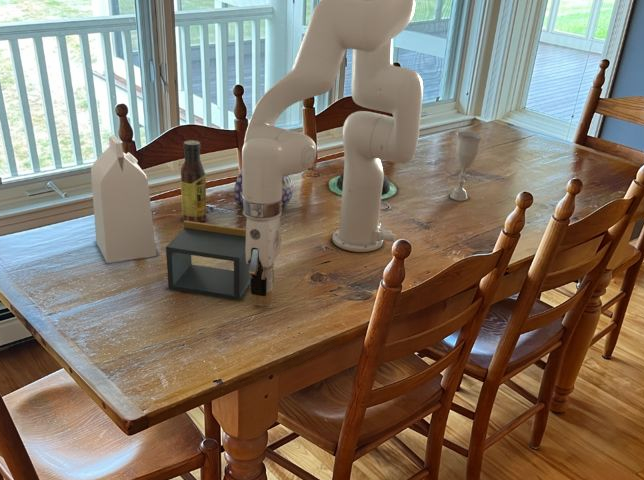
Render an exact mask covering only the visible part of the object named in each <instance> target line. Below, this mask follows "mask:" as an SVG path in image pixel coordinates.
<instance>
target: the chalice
mask: <svg viewBox="0 0 644 480" xmlns="http://www.w3.org/2000/svg"><path fill="white" fill-rule="evenodd" d="M456 137H457V138H456V139H457V141H456V145H455V146H456V147H455V157H456V161H457V164H458V167H460V169H461V172H460V173H459V177H460V178H459V179H458V184H459V185H458V187H456V188H454V189H453V191H452V192H451V193H450V195H449V197H450V199H452V200H455V201H460V202H462V201H467V200H468V194H467V191H466V189H465V188H464V187H463V186H464V183H465V182H466V181H465V177H466V169H469V168H470V167H471V166H472V165H473V163H474V162H475V160H476V158H477V157H478V155H479V149H480V146H481V145H480V143H481V141H482V139H483V138H484V136H483V134H481V133H479V132H474V131H465V130H463V131H458V132H456Z"/></svg>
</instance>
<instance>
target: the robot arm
mask: <svg viewBox="0 0 644 480" xmlns="http://www.w3.org/2000/svg"><path fill="white" fill-rule="evenodd" d="M415 7H416V0H319V1H318V3H316V5H315V6H314V8H313V11H312V13H311V16H310V19H309V22H308V23H307V26H306V30H305V32H304V35H303V38H302V40H301V43H300V46H299V49H298V52H297V54H296V56H295V59H294V62H293V65H292V67H291V69H290V70H289V72H288V73H287V74H286V75H284V76H283V77H281V78H280V79H279V80H277V81H276V82H275V83H274V84H272V86H270V87H269V88H268V90H267V91H266V92H265V93H264V94H263V95H262V96H261V97H260V99H259V100H258V101H257V103H256V104H255V106H254V109H253V111H252V114H251V117H250V119H249V122H248V125H247V128H246V131H245V134H244V141H243V145H242V148H241V169H242V190H243V206H242V215H243V216H244V217H245V218H246V223H245V229H246V263H247V264H248V265H250V270H249V274H250V278H251V283H250V294H251V296H252V295H259V296H266V294H267V278H265V269H266V268H269V267H270V266H271V265H272V264H273V265H274V262H275V261H276V259H277V257H278V256H279V254H280V253H281V252H280V251H281V249H282V235H281V233H282V232H281V231H282V230H281V228H282V227H281V216H282V214H283V208H282V178H283V177H284V176H288V175H292V176H294V175H298V174H301V173H303V172H306V171H307V170H308V169H310V168H311V167H312V165H313V164H314V162H315V160H316V158H317V145H316V143H315V141H314V140H313V138H311V137H310V136H309V135H307V134H305V133H302V132H298V131H294V130H291V129H287V128H282V127H278V126H276V122H277V121H278V119H279V118H280V116H281V115H282V114H283V113H284V111H286V110H287V109H288V108H290V107H291V106H293V105H295V104H297V103H299V102H302V101H304V100H308V99H310V98H315V97H318V96H321V95H324V94H326V93H328V92H330V91H331V90H332V89H333V86H334V85H335V82H336V79H337V76H338V73H339V70H340V68H341V65H342V62H343V60H344V58H345V54H346V52H347V50H352V56H351V57H352V59H351V82H350V83H351V86H350V91H351V98H352V100H353V102H354V103H355V104H356V105H358V106H359V107H362V108H364V109H365V108H366V109H369V110H374V111H377V112H378V111H379V112H384V113H388V114H390V115H391V114H392V116H390V115H386V114H381V113H379V112H378V113H377V112H372V111H368V110H367V111H366V110H357V111H355V112H352V113H350V114H349V115H348V116H347V118H346V119H345V120H344V122H343V126H342V145H343V157H344V158H343V159H344V161H343V163H344V164H343V173H344V177H343V190H342V195H341V203H340V204H341V205H340V217H339V228H338V229H337V230H336V231H334V233H332V238H331V239H332V242H333V244H334V245H335V246H336V247H338V248H340V249H342V250H345V251H349V252H356V253H368V252H373V251H376V250H378V249H379V248H381V247H382V246H383V245H384V241H386V242H390V243H395V240H396V234H395V233H392V232H393V231H392V230H389V229H383V228H381V225H382V224H381V222H379V221H380V214H381V203H382V199H381V196H382V187H383V180H384V174H385V172H384V169H383V168H384V167H383V164H382V163H381V162H380V159H381V160H382V161H386V162H390V163H394V164H400V165H401V164H403V165H404V164H407V163H409V162H410V161H412V159H413V157H414V156H415V154H416V151H417V149H418V144H419V137H420V130H421V129H420V128H421V119H422V118H421V117H422V109H423V108H422V107H423V99H424V84H423V79H422V78H421V75H420V74H419V73H418V72H417V71H415V70H413V69H411V68H407V67H403V66H396V65H394V63H393V39H395V37H398V35H399V34H401V33H402V32H404V30H405V29H406V28H407V27H408V26H409V25H410V23H411V21H412V19H413V16H414V13H415ZM383 172H384V173H383ZM258 261H260V262H261V263H258ZM257 267H260V268H262V270H261V272H260V271H259V270H258V269H257Z"/></svg>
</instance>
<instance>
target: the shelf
mask: <svg viewBox="0 0 644 480" xmlns="http://www.w3.org/2000/svg"><path fill="white" fill-rule="evenodd" d="M165 255H166V271H167V285H168V290H171V291H177V292H184V293H190V294H195V295H196V294H197V295H203V296H209V297H216V298H221V299H222V298H223V299H228V300H235V301H240V300H241V299H242V297H243V295H245V292H246V291H247V290H248V288H249V286H251V278H250V274H249V270H250V265H248V264H247V263H246V228H240V227H234V226H228V225H220V224H212V223H205V222H192V221H185V220H183V228H182V229H181V230H180V231H179V232H178V233H177V234H176V235H175V236H174V237H173V238H172V240H171V241H170V242H169V243H168V244H167V245H166V246H165ZM192 256H195V257H203V258H209V259H214V260H215V259H216V260H223V261H228V262H233V270H232V269H225V268H218V267H211V266H205V265H197V264H193V263H192Z"/></svg>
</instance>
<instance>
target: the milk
mask: <svg viewBox="0 0 644 480" xmlns="http://www.w3.org/2000/svg"><path fill="white" fill-rule="evenodd" d="M108 142H109V143H108V144H109V145H108V147H107V148H106V150H104V151H103V152H102V153H101V155H100V156H99V157H98V158H97V159H96V160H95V161H94V162H93V164H92V165H91V168H90V177H91V190H92V191H91V192H92V193H91V194H92V204H93V205H92V206H93V218H94V219H93V220H94V230H95V242H96V244H97V247H98V248H99V250H100V252H101V254H102V257H103V259H104V260H105V262H106V264H111V263H117V262H123V261H124V262H125V261H130V260H139V259H144V258H150V257H157V248H156V247H157V246H156V239H155V229H154V221H153V213H152V203H151V195H150V187H149V180H148V177H147V174H146V173H145V172H144V171H143V169H142V168H141V167H140V165H139V164H138V163H139V161H138V159H137V158H136V157H135V156H134V155H133V154H132V153H131V152H127V153H125V152H124V149H123V145H122V142H121V140H119V138H118V137H117V135H116V134H114V135H113V134H112V135H108Z"/></svg>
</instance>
